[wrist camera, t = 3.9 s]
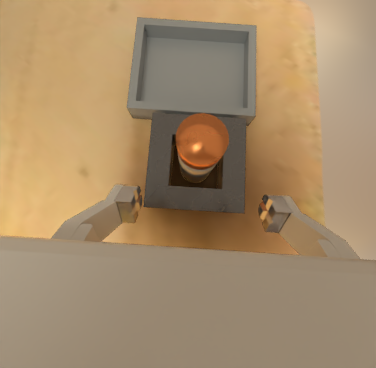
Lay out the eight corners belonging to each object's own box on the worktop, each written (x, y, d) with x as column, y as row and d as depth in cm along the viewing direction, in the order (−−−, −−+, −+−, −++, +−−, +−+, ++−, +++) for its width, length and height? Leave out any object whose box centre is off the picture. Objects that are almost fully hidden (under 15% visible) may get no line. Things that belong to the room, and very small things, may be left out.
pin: (179, 181, 22) (173, 162, 12) (181, 152, 23) (177, 111, 13) (209, 183, 22) (228, 165, 12) (210, 154, 23) (229, 114, 13)
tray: (133, 118, 23) (126, 107, 21) (142, 36, 25) (137, 17, 23) (248, 125, 23) (255, 116, 21) (249, 43, 25) (256, 25, 23)
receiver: (150, 206, 22) (143, 207, 18) (157, 126, 23) (152, 112, 20) (235, 212, 22) (244, 213, 18) (237, 131, 23) (246, 118, 20)
